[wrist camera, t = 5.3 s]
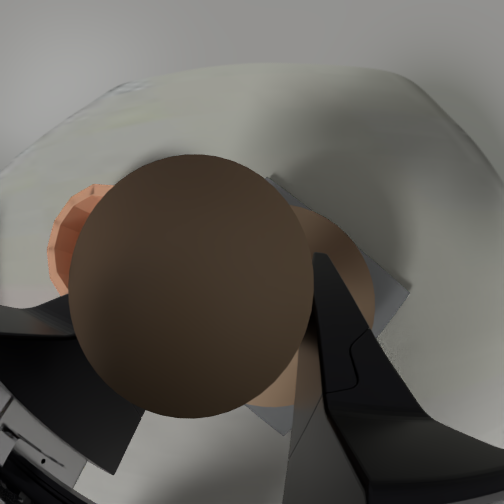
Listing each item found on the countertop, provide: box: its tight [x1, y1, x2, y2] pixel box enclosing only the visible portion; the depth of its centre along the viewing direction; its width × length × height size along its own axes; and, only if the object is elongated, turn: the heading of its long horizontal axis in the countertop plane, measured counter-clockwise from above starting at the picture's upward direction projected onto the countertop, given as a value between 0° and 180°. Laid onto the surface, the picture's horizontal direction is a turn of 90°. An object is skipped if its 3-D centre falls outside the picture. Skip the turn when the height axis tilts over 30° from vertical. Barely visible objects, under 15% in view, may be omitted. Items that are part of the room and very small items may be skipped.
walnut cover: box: [68, 155, 375, 418], centre depth 9 cm, size 10×10×12 cm
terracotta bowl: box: [47, 184, 113, 296], centre depth 19 cm, size 8×8×4 cm
